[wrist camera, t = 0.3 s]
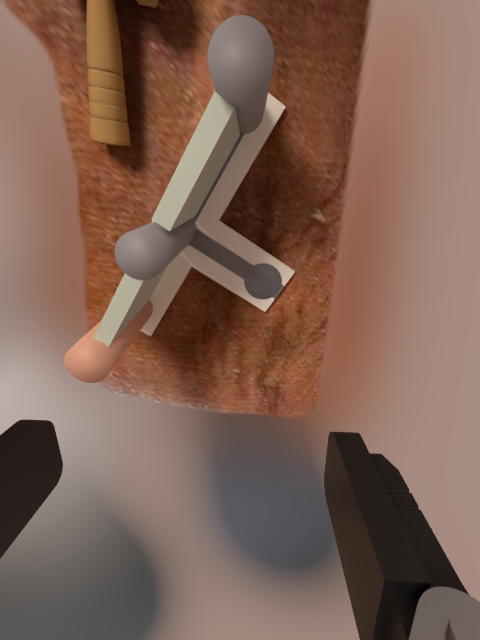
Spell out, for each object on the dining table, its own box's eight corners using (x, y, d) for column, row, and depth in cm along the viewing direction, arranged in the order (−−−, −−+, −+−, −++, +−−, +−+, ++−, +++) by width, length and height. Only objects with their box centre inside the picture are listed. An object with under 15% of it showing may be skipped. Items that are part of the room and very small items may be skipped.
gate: (156, 237, 27) (105, 266, 18) (185, 255, 28) (151, 293, 18) (118, 311, 30) (58, 369, 21) (145, 326, 31) (98, 389, 21)
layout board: (231, 64, 22) (230, 62, 22) (366, 173, 25) (368, 173, 25) (108, 311, 31) (106, 312, 31) (219, 371, 34) (219, 374, 33)
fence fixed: (238, 78, 22) (229, -9, 12) (271, 104, 23) (288, 41, 13) (159, 233, 27) (105, 262, 17) (188, 251, 28) (152, 290, 18)
